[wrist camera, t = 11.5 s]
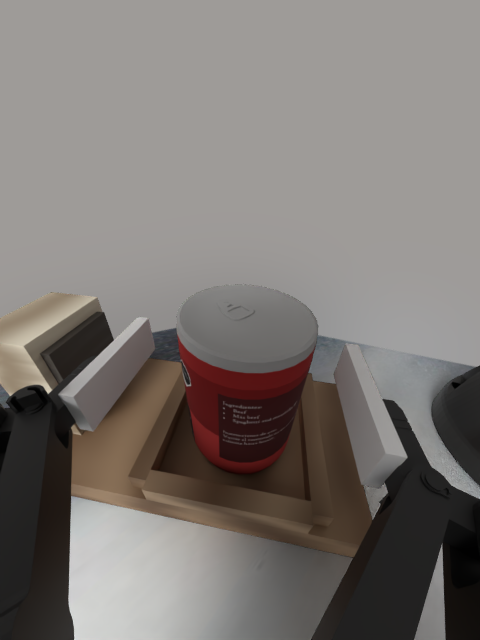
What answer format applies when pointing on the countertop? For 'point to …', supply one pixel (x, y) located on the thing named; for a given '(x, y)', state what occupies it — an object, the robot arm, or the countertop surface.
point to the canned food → (244, 371)
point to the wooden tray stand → (188, 441)
